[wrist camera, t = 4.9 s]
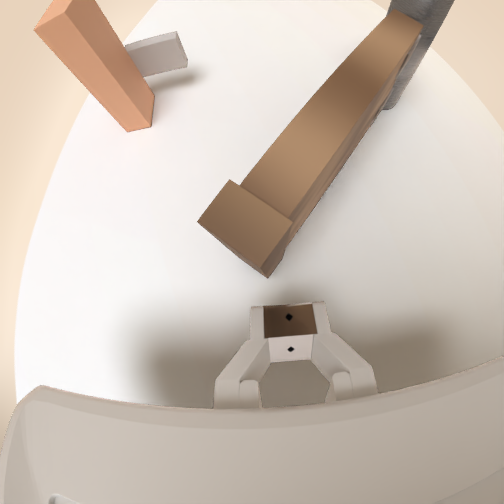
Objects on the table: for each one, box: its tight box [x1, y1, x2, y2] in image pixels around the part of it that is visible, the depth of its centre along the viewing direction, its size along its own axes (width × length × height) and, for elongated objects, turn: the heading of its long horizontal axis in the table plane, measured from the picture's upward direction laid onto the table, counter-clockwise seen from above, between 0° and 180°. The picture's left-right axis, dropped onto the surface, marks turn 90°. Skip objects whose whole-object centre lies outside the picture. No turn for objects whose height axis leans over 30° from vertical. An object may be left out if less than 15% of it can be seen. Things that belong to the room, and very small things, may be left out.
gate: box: [197, 9, 424, 278], centre depth 12 cm, size 14×2×9 cm, turn 144°
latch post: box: [34, 0, 188, 132], centre depth 13 cm, size 5×4×12 cm
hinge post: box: [382, 0, 454, 110], centre depth 11 cm, size 3×3×14 cm
